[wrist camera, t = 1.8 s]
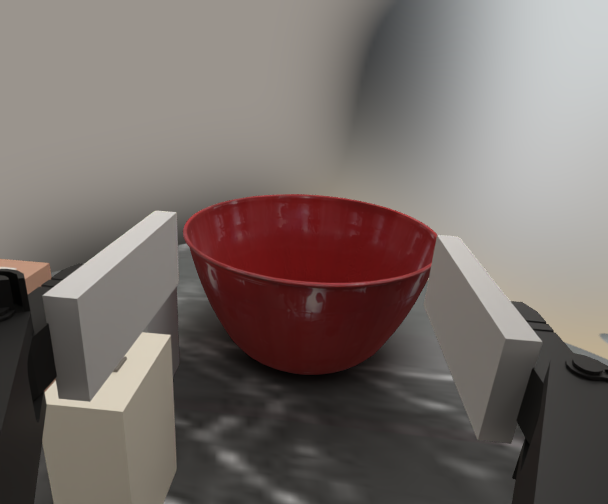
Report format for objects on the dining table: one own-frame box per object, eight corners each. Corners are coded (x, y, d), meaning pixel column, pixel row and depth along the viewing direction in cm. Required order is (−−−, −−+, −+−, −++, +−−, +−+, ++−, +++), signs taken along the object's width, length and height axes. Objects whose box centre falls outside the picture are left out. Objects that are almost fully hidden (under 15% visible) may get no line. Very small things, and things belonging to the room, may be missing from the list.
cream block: (117, 463, 37) (102, 326, 33) (176, 469, 37) (170, 332, 32) (64, 559, 30) (34, 400, 25) (137, 567, 30) (122, 408, 25)
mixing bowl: (342, 475, 38) (364, 315, 32) (135, 347, 53) (125, 222, 47) (452, 338, 60) (476, 228, 54) (283, 275, 75) (288, 183, 69)
